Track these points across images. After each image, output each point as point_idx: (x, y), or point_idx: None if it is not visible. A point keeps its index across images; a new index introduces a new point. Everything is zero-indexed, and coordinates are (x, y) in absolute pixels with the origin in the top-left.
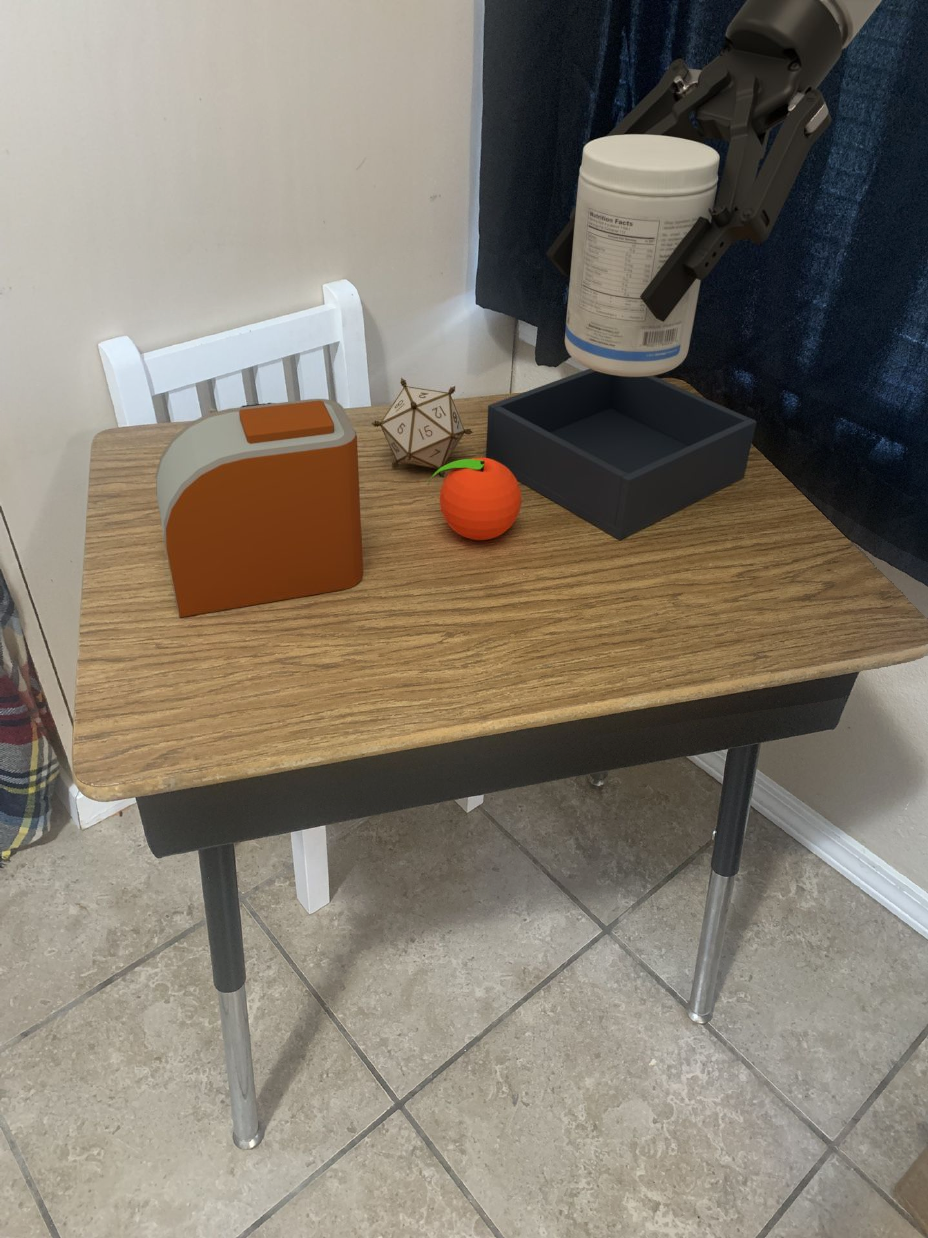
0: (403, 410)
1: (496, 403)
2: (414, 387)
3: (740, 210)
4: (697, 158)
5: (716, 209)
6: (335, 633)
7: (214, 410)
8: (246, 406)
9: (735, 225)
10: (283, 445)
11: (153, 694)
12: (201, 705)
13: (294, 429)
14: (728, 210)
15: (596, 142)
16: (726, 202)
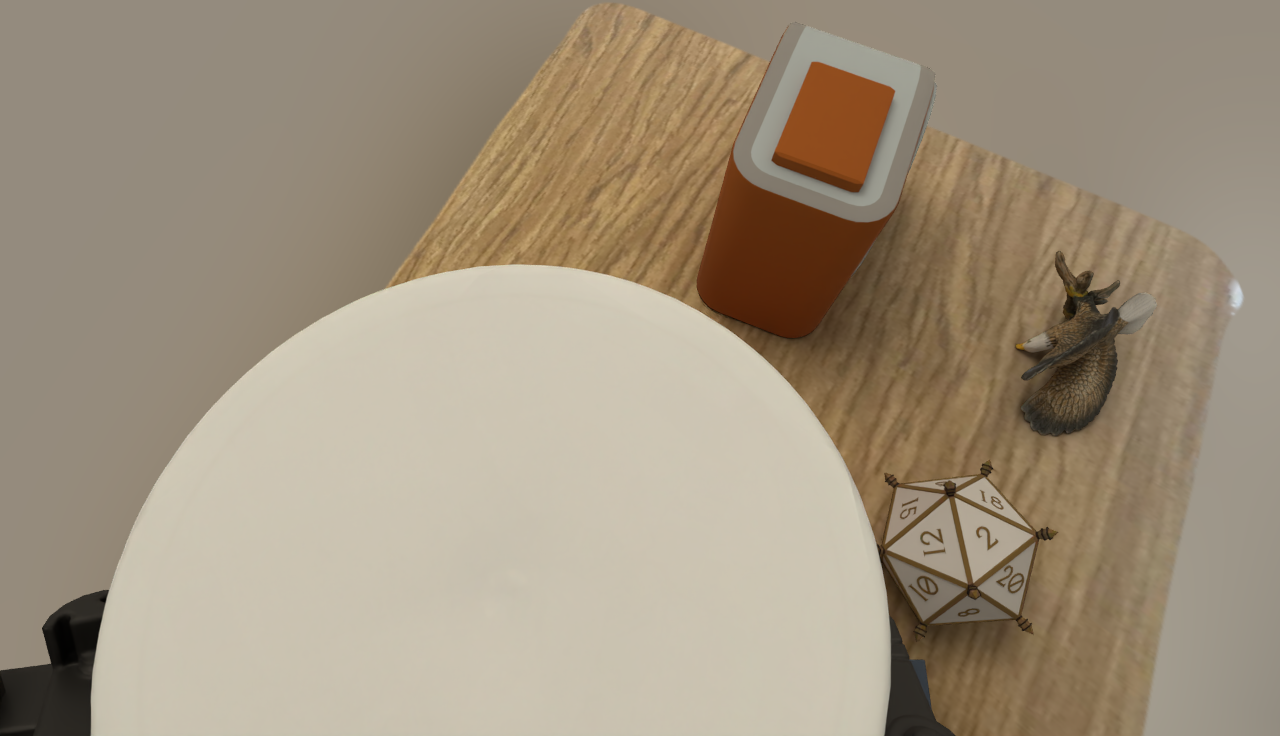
0: (966, 489)
1: (922, 680)
2: (1026, 547)
3: (13, 730)
4: (202, 683)
5: (97, 605)
6: (635, 227)
7: (1140, 293)
8: (1116, 317)
9: (41, 666)
10: (778, 97)
11: (667, 69)
12: (625, 89)
13: (793, 108)
14: (50, 655)
15: (806, 475)
16: (78, 706)
